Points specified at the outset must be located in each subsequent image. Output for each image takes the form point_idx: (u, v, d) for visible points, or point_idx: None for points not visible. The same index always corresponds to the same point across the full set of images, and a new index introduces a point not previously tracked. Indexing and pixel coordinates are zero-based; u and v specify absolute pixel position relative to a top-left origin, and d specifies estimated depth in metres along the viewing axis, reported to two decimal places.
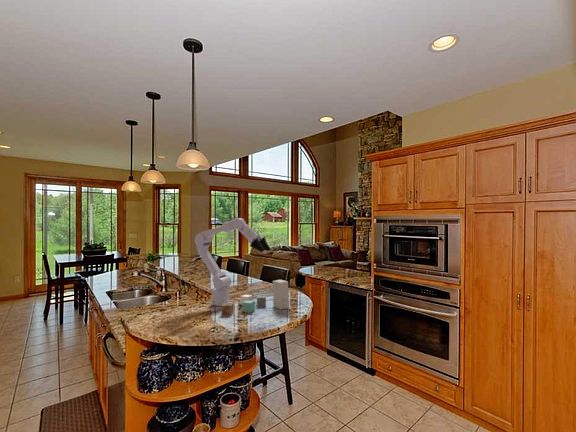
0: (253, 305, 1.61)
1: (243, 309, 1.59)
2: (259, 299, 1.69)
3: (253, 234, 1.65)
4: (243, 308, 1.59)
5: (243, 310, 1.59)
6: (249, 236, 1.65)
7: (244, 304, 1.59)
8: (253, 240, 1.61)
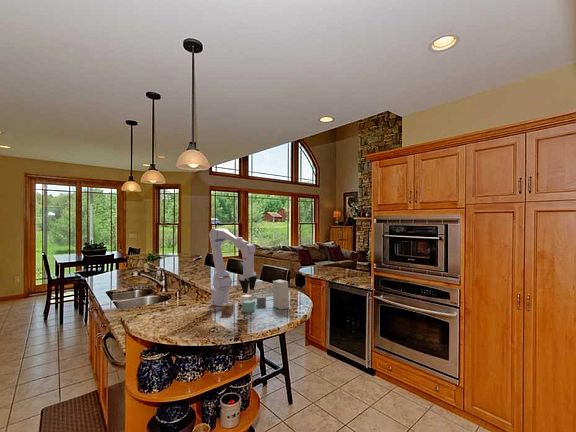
0: (253, 305, 1.61)
1: (243, 309, 1.59)
2: (259, 299, 1.69)
3: (250, 272, 1.59)
4: (243, 308, 1.59)
5: (243, 310, 1.59)
6: (246, 270, 1.59)
7: (244, 304, 1.59)
8: (245, 279, 1.56)
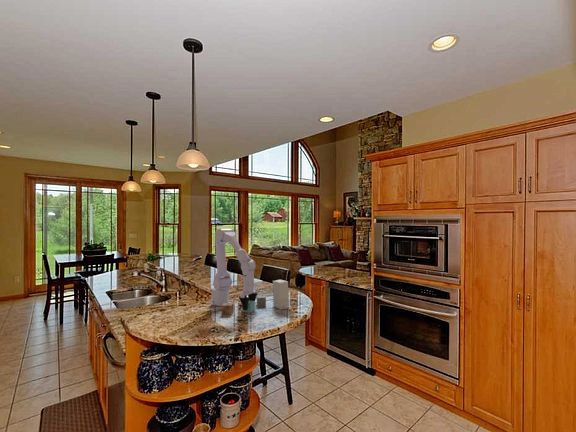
0: (253, 305, 1.61)
1: None
2: (259, 299, 1.69)
3: (250, 288, 1.59)
4: None
5: (243, 310, 1.59)
6: (246, 287, 1.58)
7: None
8: (245, 296, 1.56)
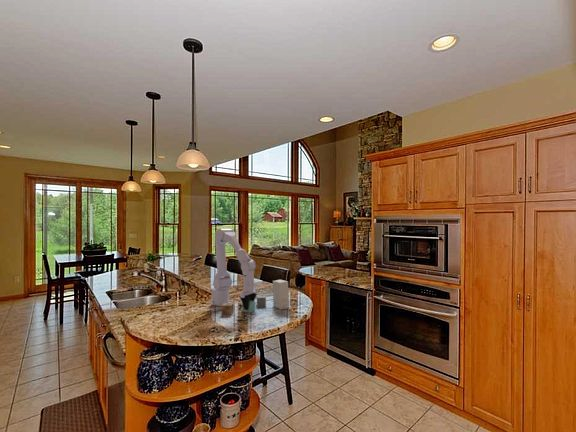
0: (253, 305, 1.61)
1: (243, 309, 1.59)
2: (259, 299, 1.69)
3: (250, 289, 1.59)
4: (243, 308, 1.59)
5: (243, 310, 1.59)
6: (246, 287, 1.58)
7: None
8: (245, 296, 1.56)
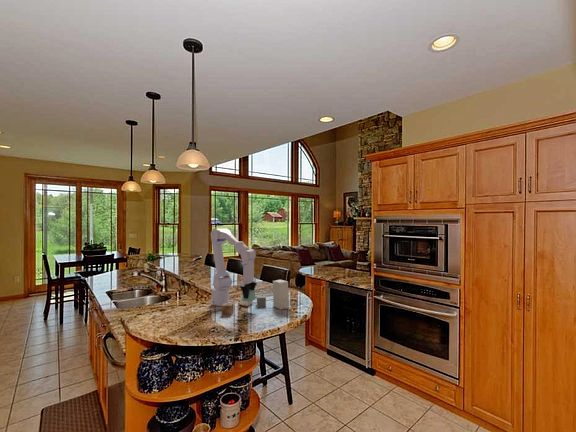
0: (253, 294, 1.61)
1: (243, 298, 1.59)
2: (259, 299, 1.69)
3: (250, 277, 1.59)
4: (243, 297, 1.59)
5: (243, 299, 1.59)
6: (246, 276, 1.59)
7: None
8: (245, 285, 1.56)
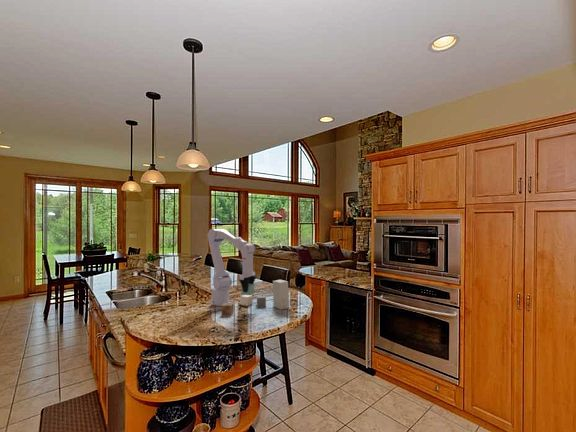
0: (252, 288, 1.62)
1: (242, 292, 1.61)
2: (259, 299, 1.69)
3: (249, 271, 1.60)
4: (242, 291, 1.61)
5: (242, 293, 1.61)
6: (245, 270, 1.60)
7: None
8: (244, 278, 1.57)
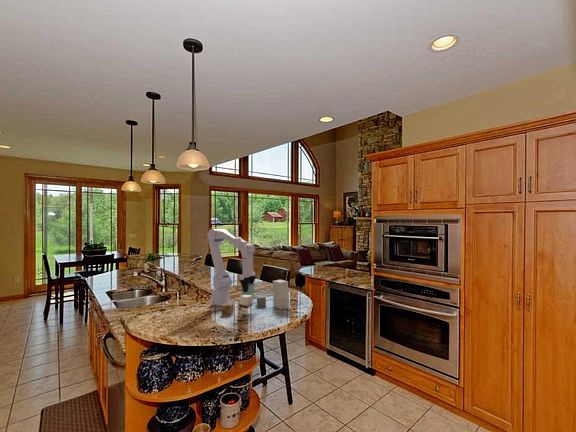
0: (252, 288, 1.62)
1: (242, 292, 1.61)
2: (259, 299, 1.69)
3: (249, 271, 1.60)
4: (242, 291, 1.61)
5: (242, 293, 1.61)
6: (245, 270, 1.60)
7: None
8: (244, 278, 1.57)
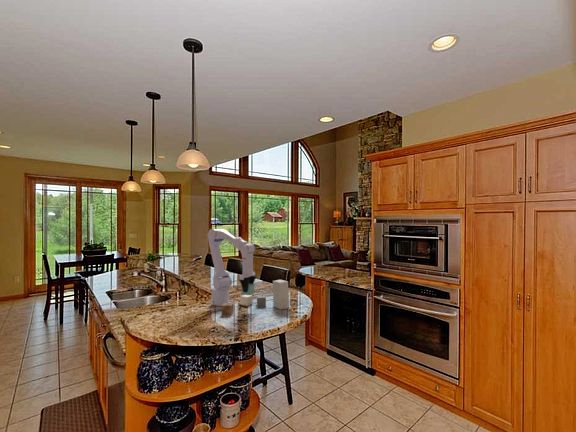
0: (252, 288, 1.62)
1: (242, 292, 1.61)
2: (259, 299, 1.69)
3: (249, 271, 1.60)
4: (242, 291, 1.61)
5: (242, 293, 1.61)
6: (245, 270, 1.60)
7: None
8: (244, 278, 1.57)
